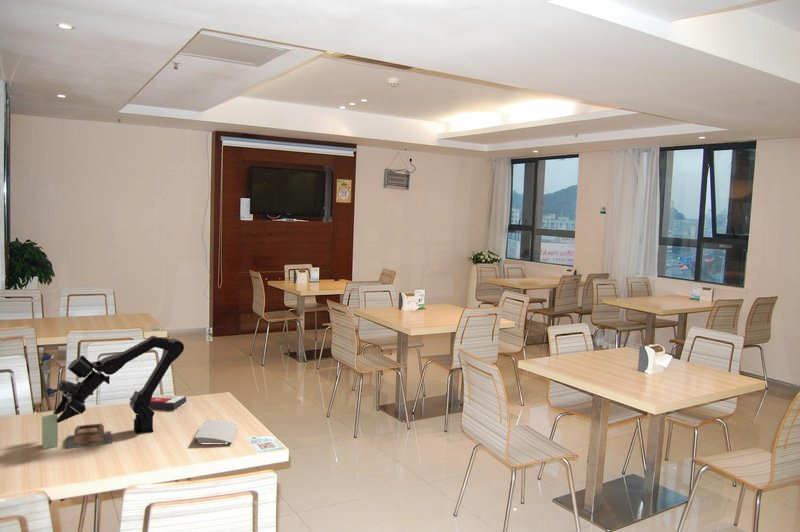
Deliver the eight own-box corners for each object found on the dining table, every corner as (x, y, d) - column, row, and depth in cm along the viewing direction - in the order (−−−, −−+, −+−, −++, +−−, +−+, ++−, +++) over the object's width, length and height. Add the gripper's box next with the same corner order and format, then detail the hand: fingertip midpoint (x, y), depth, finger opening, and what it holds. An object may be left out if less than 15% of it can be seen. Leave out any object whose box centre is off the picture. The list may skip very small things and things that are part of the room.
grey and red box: (156, 393, 282) (186, 395, 280) (157, 402, 282) (186, 404, 280) (142, 400, 271) (173, 401, 269) (143, 410, 272) (174, 411, 269)
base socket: (110, 432, 240) (110, 421, 240) (111, 443, 230) (111, 431, 229) (67, 437, 234) (67, 425, 233) (66, 448, 223) (66, 436, 223)
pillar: (56, 442, 228) (56, 413, 227) (57, 446, 224) (57, 417, 224) (42, 444, 225) (41, 415, 225) (43, 448, 222) (43, 419, 221)
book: (189, 448, 229) (189, 438, 229) (201, 427, 252) (201, 418, 251) (231, 448, 231) (231, 438, 231) (239, 427, 254) (239, 418, 253)
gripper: (68, 366, 235) (35, 398, 229) (75, 378, 220) (40, 412, 214) (91, 384, 240) (59, 415, 234) (99, 396, 225) (65, 430, 219)
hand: (55, 418), depth 225 cm, fingers open, 9 cm apart
